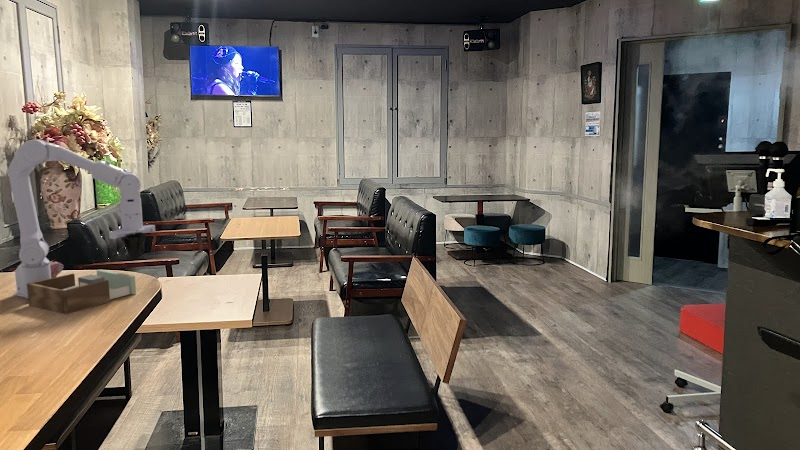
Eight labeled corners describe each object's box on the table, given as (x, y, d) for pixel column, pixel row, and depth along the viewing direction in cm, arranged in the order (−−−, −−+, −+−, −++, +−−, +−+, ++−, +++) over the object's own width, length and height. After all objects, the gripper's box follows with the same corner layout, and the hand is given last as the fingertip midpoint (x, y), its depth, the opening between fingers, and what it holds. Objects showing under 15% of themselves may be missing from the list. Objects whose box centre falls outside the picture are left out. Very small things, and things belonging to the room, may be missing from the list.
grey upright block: (92, 297, 175) (91, 280, 174) (79, 294, 178) (77, 277, 177) (106, 294, 178) (104, 277, 177) (92, 291, 181) (91, 274, 180)
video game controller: (38, 289, 193) (45, 269, 191) (26, 282, 193) (33, 262, 191) (61, 281, 202) (68, 262, 200) (49, 274, 202) (56, 255, 201)
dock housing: (28, 305, 170) (26, 283, 169) (74, 293, 182) (72, 273, 181) (64, 314, 162) (62, 291, 162) (110, 301, 174) (108, 280, 173)
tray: (59, 297, 177) (57, 279, 176) (105, 285, 190) (103, 268, 189) (93, 305, 170) (91, 286, 169) (138, 292, 182) (137, 274, 181)
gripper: (118, 218, 179) (122, 264, 181) (160, 211, 191) (163, 255, 193) (103, 216, 182) (106, 262, 184) (145, 210, 194) (148, 253, 197)
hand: (134, 258), depth 189 cm, fingers closed
